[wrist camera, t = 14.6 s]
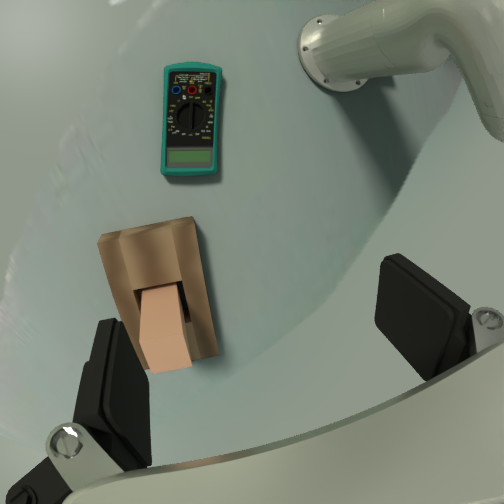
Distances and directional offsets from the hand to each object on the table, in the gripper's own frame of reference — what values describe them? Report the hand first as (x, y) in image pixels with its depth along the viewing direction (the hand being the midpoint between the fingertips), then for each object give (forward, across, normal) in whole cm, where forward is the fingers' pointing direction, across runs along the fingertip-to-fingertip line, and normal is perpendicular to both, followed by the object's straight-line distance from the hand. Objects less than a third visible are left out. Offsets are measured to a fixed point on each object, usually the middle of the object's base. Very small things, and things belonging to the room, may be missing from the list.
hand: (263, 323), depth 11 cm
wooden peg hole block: (+33, +8, +17) cm, 38 cm away
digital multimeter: (+34, 0, -6) cm, 35 cm away
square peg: (+33, +8, +17) cm, 38 cm away
